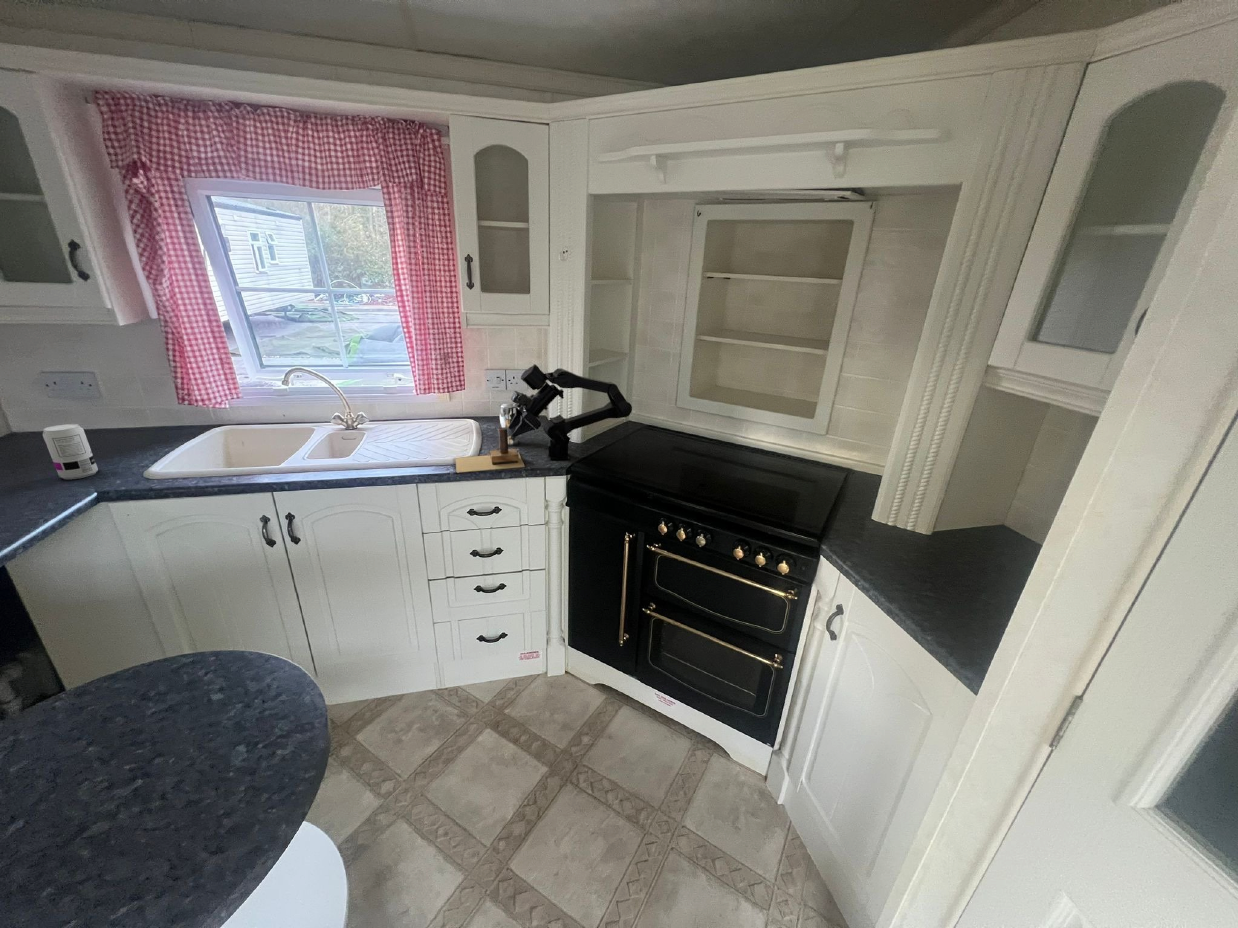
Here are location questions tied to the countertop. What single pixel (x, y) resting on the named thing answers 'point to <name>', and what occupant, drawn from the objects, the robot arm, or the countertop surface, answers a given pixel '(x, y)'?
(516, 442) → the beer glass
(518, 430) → the robot arm
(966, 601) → the countertop surface
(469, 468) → the cork mat
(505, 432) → the wooden rubber stamp
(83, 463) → the supplement can
